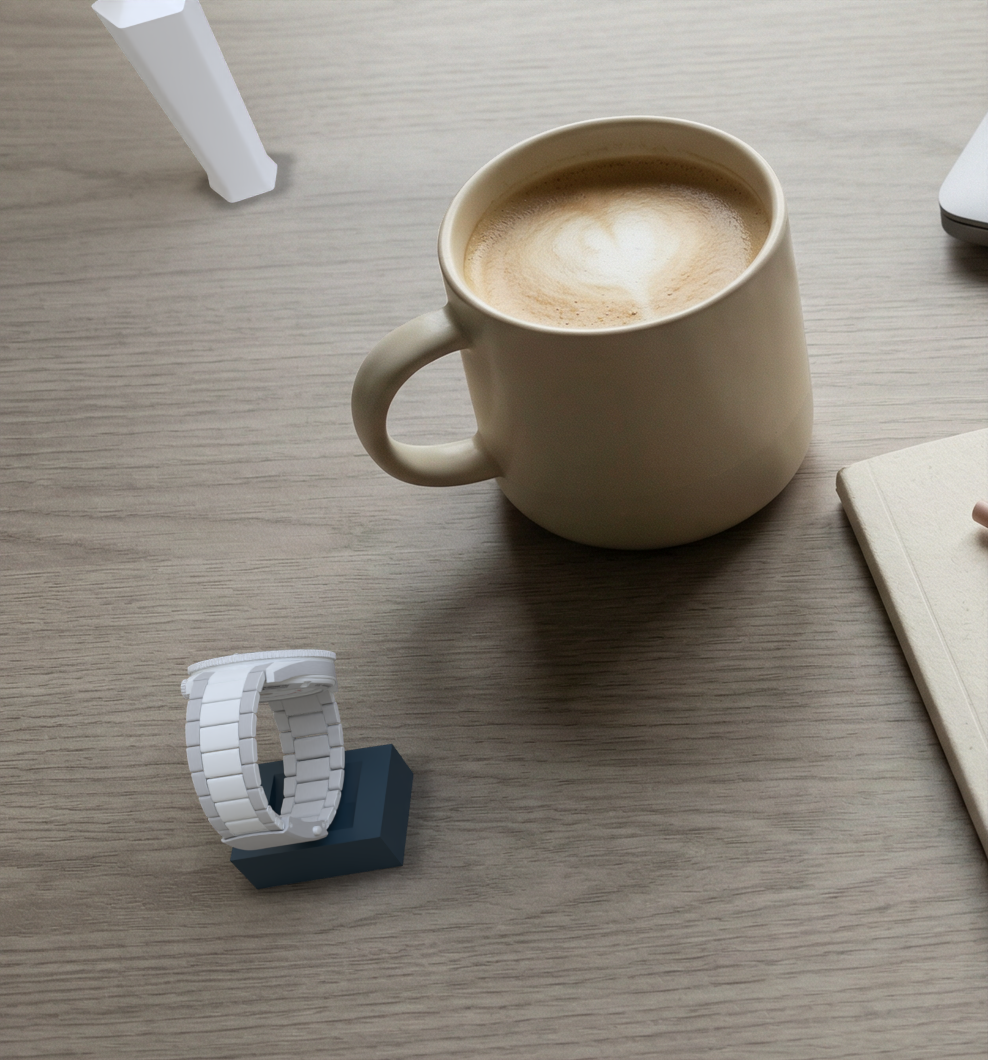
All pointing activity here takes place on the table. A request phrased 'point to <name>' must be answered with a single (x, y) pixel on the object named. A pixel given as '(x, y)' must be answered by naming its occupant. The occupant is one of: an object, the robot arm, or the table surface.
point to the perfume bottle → (193, 89)
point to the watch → (291, 771)
